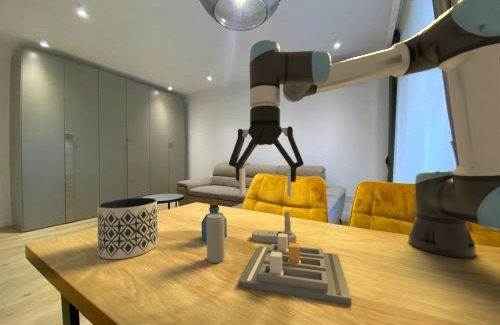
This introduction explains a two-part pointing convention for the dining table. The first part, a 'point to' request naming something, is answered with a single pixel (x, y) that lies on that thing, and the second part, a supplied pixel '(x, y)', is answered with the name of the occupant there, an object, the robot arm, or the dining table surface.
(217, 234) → the beverage can
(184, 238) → the dining table surface
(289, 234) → the electronic device
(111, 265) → the dining table surface
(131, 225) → the planter
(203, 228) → the perfume bottle
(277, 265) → the block
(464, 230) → the robot arm
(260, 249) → the panel
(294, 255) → the block
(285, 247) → the breaker far
